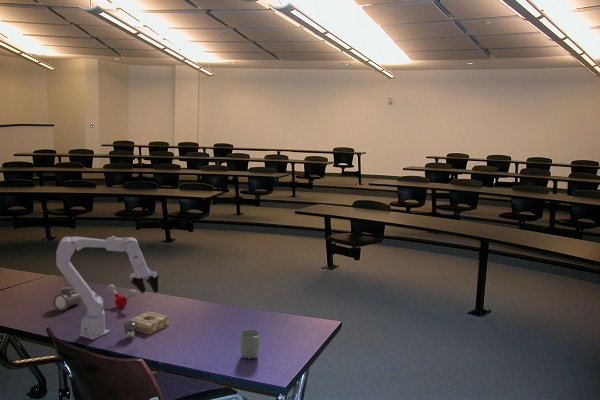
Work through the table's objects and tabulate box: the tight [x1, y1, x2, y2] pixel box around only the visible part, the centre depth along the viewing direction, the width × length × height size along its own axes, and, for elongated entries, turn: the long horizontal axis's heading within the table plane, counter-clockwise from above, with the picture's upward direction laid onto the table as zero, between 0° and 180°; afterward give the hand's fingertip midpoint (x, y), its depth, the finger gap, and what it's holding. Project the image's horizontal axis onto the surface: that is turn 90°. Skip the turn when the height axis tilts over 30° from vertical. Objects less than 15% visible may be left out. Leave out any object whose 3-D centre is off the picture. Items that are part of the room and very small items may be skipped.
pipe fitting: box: [52, 286, 82, 312], centre depth 256 cm, size 12×8×10 cm
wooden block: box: [128, 310, 170, 335], centre depth 236 cm, size 12×12×4 cm
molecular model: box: [107, 284, 137, 308], centre depth 258 cm, size 18×6×10 cm, turn 62°
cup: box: [239, 328, 261, 360], centre depth 210 cm, size 8×8×10 cm
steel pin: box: [123, 320, 138, 339], centre depth 225 cm, size 5×5×6 cm
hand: (150, 291), depth 233 cm, fingers open, 7 cm apart
